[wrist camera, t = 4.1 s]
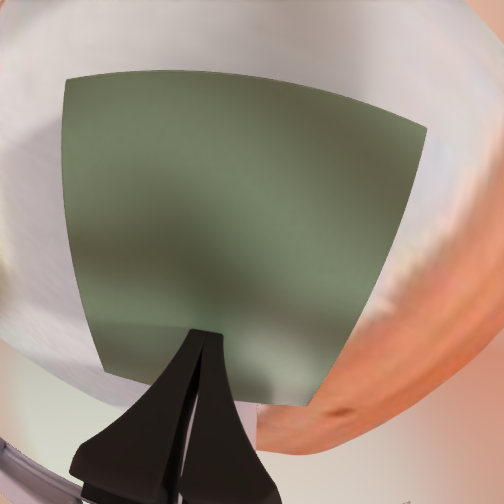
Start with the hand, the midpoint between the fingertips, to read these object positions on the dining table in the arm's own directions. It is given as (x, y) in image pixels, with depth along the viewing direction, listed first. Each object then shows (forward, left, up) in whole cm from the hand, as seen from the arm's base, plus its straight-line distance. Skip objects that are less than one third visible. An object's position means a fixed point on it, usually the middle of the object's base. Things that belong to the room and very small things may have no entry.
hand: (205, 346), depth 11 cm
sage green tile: (+2, +2, -1) cm, 3 cm away
